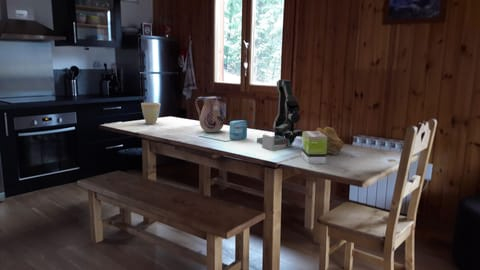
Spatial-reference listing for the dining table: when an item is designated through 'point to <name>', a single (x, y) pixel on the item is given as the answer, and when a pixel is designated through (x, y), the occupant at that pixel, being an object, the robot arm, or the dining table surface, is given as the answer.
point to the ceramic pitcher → (210, 114)
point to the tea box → (314, 146)
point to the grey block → (271, 143)
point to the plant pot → (150, 112)
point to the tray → (260, 140)
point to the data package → (238, 130)
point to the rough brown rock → (332, 140)
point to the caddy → (282, 141)
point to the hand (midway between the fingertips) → (289, 144)
